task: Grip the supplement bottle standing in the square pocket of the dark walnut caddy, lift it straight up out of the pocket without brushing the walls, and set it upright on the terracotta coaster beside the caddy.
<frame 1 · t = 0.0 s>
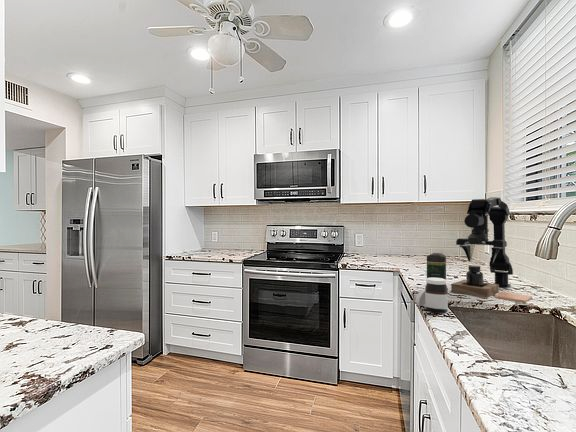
hand: (480, 262, 142), 15 cm above the counter, tool pointing down, fingers open, 9 cm apart
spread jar: (431, 309, 122), on the counter
supplement bottle: (474, 292, 148), resting in walnut caddy
terracotta coaster: (513, 297, 137), on the counter
walnut caddy: (474, 291, 148), on the counter
coffee jar: (436, 294, 144), on the counter
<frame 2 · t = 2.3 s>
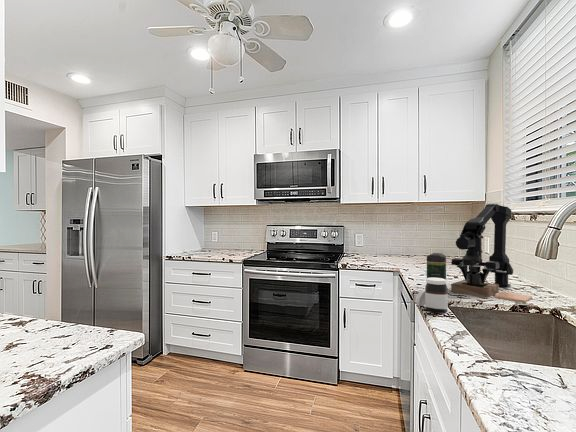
hand: (474, 281, 148), 5 cm above the counter, tool pointing down, fingers closed on supplement bottle, 7 cm apart
supplement bottle: (474, 292, 148), resting in walnut caddy, touching gripper
everything else where it was.
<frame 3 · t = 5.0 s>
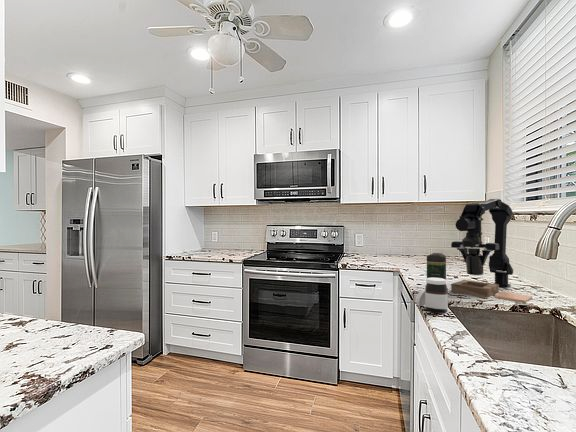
hand: (474, 264, 148), 13 cm above the counter, tool pointing down, fingers closed on supplement bottle, 7 cm apart
supplement bottle: (474, 274, 148), point 8 cm above the counter, touching gripper
everything else where it was.
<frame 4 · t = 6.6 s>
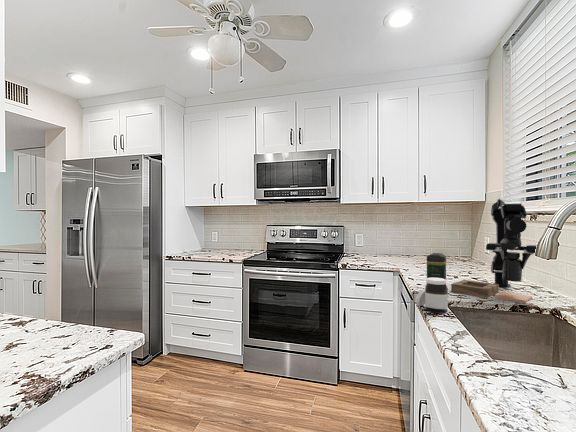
hand: (512, 267, 137), 13 cm above the counter, tool pointing down, fingers closed on supplement bottle, 7 cm apart
supplement bottle: (511, 280, 137), point 7 cm above the counter, touching gripper
everything else where it was.
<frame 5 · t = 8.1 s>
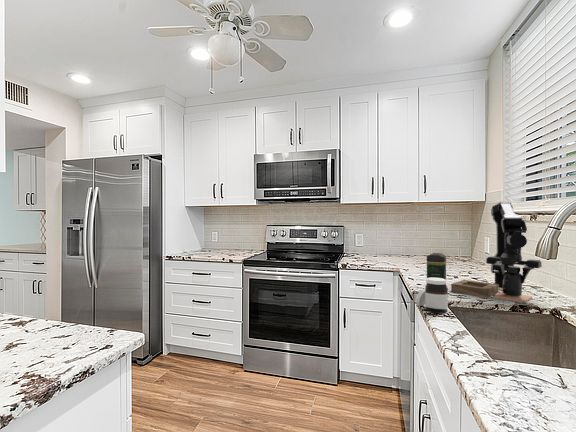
hand: (513, 282, 137), 7 cm above the counter, tool pointing down, fingers closed on supplement bottle, 7 cm apart
supplement bottle: (511, 294, 137), point 1 cm above the counter, touching gripper
everything else where it was.
when the fingers open (7 cm above the counter, at t = 8.9 s): supplement bottle stays where it is, resting on terracotta coaster.
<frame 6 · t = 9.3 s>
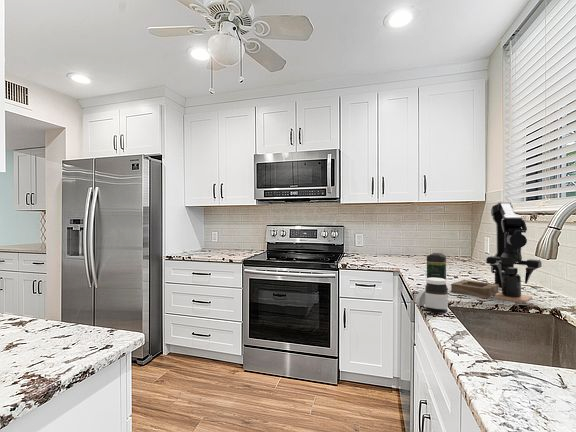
hand: (513, 281, 137), 7 cm above the counter, tool pointing down, fingers open, 9 cm apart
supplement bottle: (511, 296, 137), point 1 cm above the counter, touching terracotta coaster
everything else where it was.
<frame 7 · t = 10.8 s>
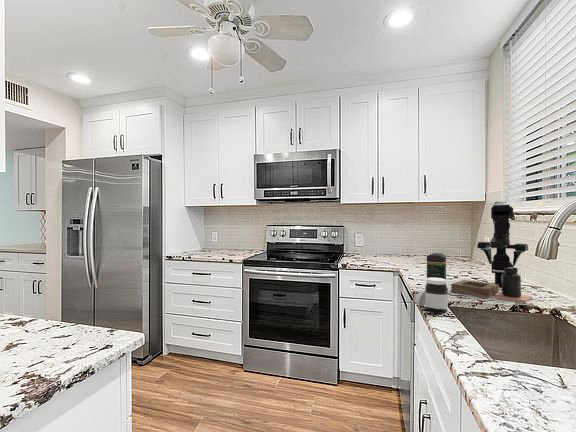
hand: (501, 265, 146), 13 cm above the counter, tool pointing down, fingers open, 9 cm apart
nothing on the counter moved.
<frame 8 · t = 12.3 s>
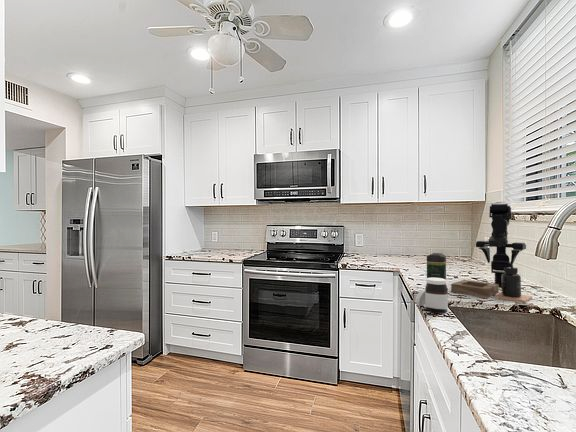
hand: (500, 263, 147), 13 cm above the counter, tool pointing down, fingers open, 9 cm apart
nothing on the counter moved.
at the end: supplement bottle 0.7 cm off-centre on the terracotta coaster, point 0.6 cm above the terracotta coaster's base; supplement bottle tilted 0°; the gripper is holding nothing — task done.
